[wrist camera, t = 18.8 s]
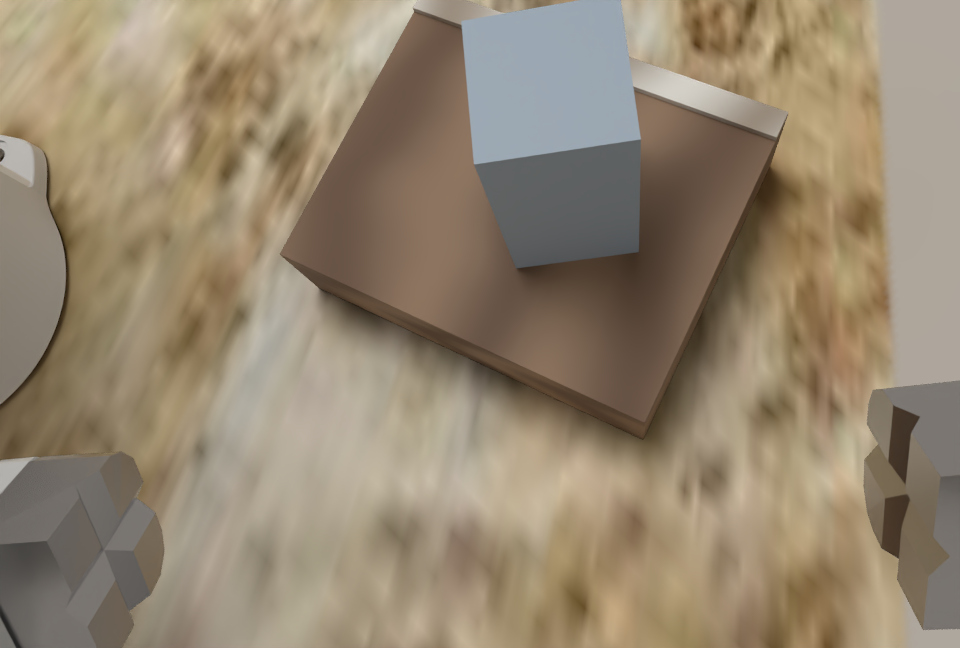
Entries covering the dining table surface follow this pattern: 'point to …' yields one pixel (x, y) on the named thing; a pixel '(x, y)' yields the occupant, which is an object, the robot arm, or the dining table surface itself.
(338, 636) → the dining table surface
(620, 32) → the blue-grey rectangular block
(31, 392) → the dining table surface
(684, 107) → the dock
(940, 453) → the robot arm
